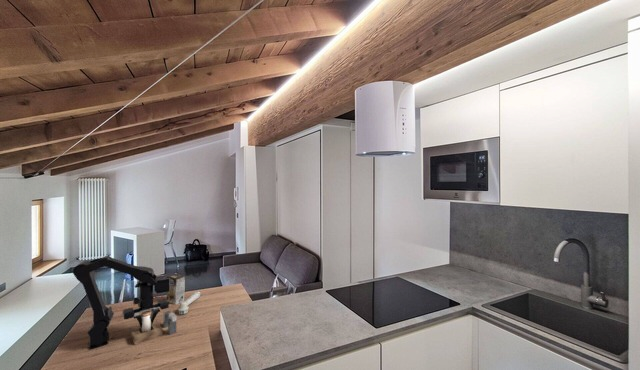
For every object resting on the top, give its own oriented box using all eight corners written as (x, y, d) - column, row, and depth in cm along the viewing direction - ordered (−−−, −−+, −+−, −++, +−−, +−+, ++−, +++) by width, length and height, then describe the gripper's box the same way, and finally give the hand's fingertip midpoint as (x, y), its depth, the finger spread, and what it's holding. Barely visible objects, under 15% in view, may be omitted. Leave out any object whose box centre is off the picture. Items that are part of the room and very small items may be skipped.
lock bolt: (172, 321, 135) (172, 317, 135) (168, 317, 140) (168, 313, 140) (176, 320, 137) (176, 316, 137) (173, 316, 141) (173, 312, 141)
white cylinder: (142, 336, 134) (142, 315, 134) (140, 332, 137) (140, 312, 137) (151, 333, 137) (152, 313, 136) (149, 329, 140) (150, 310, 139)
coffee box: (166, 301, 174) (166, 276, 173) (175, 297, 179) (175, 273, 179) (175, 305, 169) (175, 278, 169) (184, 301, 175) (185, 275, 175)
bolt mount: (169, 334, 137) (169, 320, 137) (163, 325, 145) (163, 312, 145) (176, 332, 139) (176, 318, 139) (169, 323, 147) (169, 310, 147)
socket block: (134, 344, 128) (134, 338, 128) (130, 334, 137) (130, 328, 137) (162, 335, 136) (162, 329, 136) (156, 326, 145) (156, 320, 145)
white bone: (202, 290, 182) (186, 302, 157) (201, 301, 181) (185, 314, 157) (193, 290, 182) (176, 302, 157) (193, 301, 181) (176, 314, 156)
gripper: (163, 285, 149) (162, 314, 149) (120, 294, 136) (120, 326, 136) (169, 291, 140) (168, 322, 141) (124, 302, 128) (124, 335, 128)
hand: (146, 325), depth 137 cm, fingers closed on white cylinder, 4 cm apart
